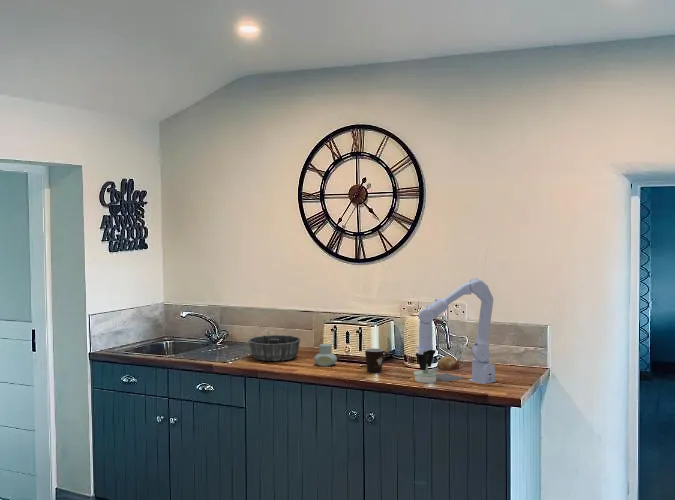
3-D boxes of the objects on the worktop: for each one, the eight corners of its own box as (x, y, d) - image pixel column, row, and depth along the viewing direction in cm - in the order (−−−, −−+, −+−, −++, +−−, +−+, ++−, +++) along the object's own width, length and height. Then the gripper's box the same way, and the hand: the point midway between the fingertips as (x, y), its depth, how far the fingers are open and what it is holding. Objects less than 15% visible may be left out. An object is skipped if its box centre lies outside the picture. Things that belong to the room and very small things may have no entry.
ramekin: (440, 382, 308) (440, 374, 307) (425, 385, 302) (425, 377, 302) (426, 378, 315) (426, 371, 315) (410, 381, 310) (410, 373, 309)
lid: (441, 374, 308) (441, 364, 308) (425, 377, 301) (425, 367, 301) (424, 370, 315) (424, 361, 315) (408, 374, 309) (408, 363, 309)
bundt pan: (276, 366, 342) (276, 345, 342) (237, 359, 358) (237, 339, 358) (311, 357, 363) (311, 338, 363) (273, 352, 379) (272, 333, 379)
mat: (465, 379, 313) (465, 378, 313) (445, 382, 306) (445, 381, 306) (445, 374, 322) (445, 373, 322) (426, 377, 315) (426, 376, 315)
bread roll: (436, 375, 338) (430, 360, 337) (454, 364, 341) (447, 350, 340) (447, 379, 329) (440, 364, 327) (465, 368, 332) (458, 353, 330)
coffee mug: (368, 374, 323) (368, 352, 323) (362, 370, 332) (362, 348, 331) (392, 372, 326) (392, 350, 326) (386, 369, 335) (386, 347, 334)
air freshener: (312, 366, 340) (312, 345, 340) (315, 363, 348) (315, 343, 348) (335, 367, 339) (335, 346, 338) (337, 363, 347) (337, 343, 347)
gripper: (421, 334, 316) (421, 364, 317) (411, 338, 303) (411, 370, 303) (437, 335, 313) (437, 365, 314) (427, 339, 300) (427, 372, 300)
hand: (425, 368), depth 308 cm, fingers open, 7 cm apart
